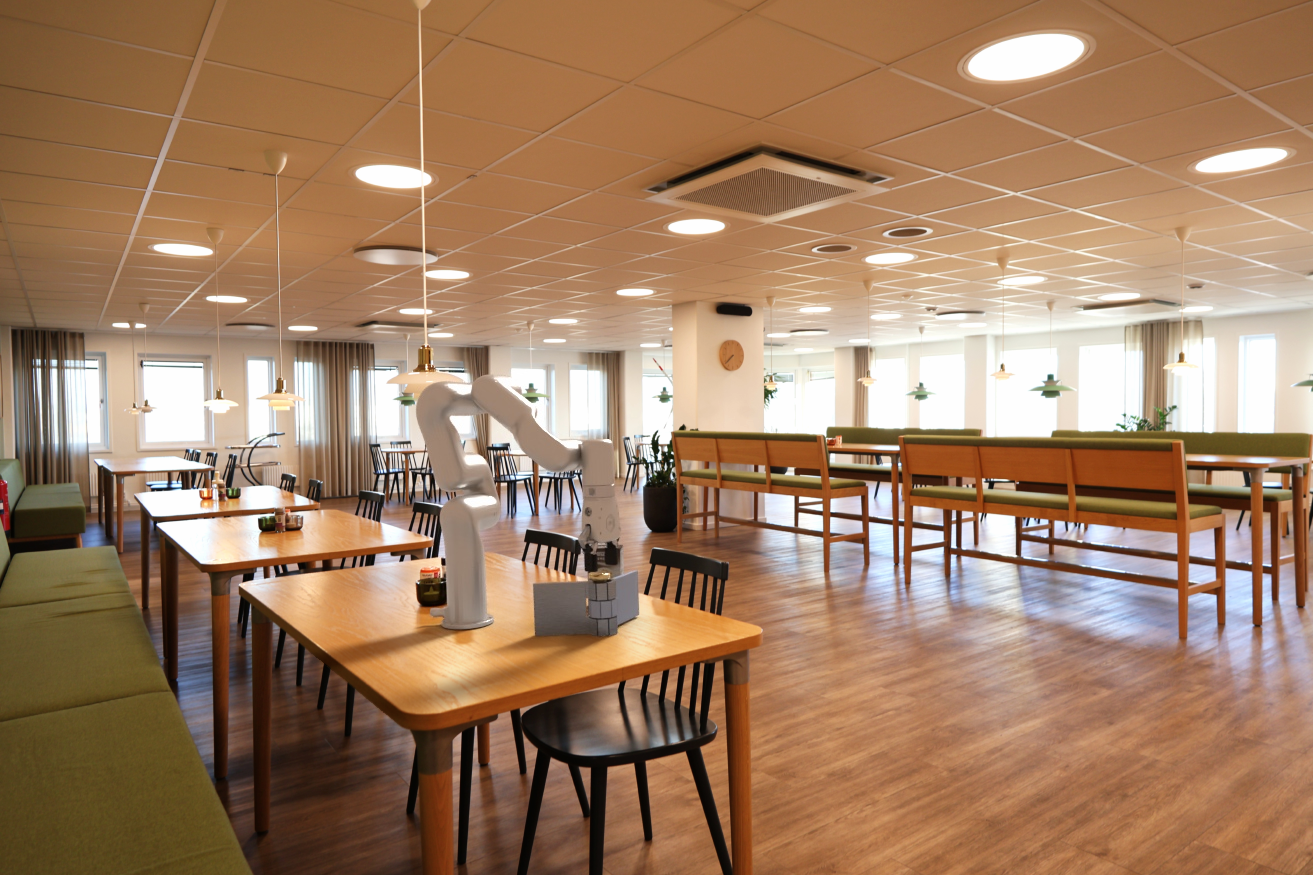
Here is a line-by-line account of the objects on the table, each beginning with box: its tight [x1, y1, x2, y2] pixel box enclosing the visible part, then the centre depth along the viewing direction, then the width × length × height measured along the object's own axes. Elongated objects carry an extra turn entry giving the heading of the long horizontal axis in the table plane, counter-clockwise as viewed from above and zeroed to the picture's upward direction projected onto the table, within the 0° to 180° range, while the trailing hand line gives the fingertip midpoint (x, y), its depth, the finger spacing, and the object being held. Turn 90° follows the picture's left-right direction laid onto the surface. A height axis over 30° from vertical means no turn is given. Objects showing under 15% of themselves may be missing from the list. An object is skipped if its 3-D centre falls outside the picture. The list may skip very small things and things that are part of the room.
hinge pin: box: [587, 571, 610, 619], centre depth 182 cm, size 5×5×14 cm
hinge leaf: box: [587, 570, 640, 626], centre depth 188 cm, size 19×6×11 cm, turn 152°
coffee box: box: [587, 544, 625, 581], centre depth 208 cm, size 9×6×16 cm
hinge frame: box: [532, 578, 619, 637], centre depth 182 cm, size 19×6×12 cm, turn 92°
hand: (601, 567), depth 182 cm, fingers open, 8 cm apart
